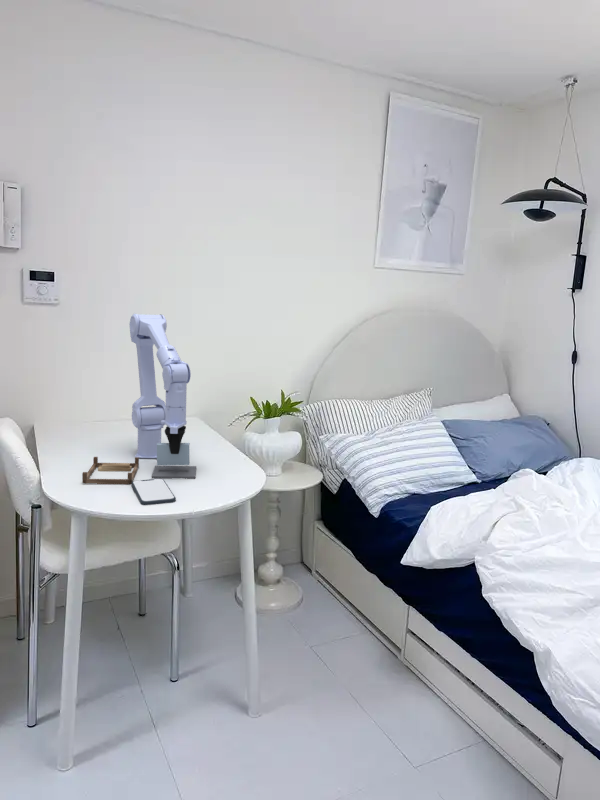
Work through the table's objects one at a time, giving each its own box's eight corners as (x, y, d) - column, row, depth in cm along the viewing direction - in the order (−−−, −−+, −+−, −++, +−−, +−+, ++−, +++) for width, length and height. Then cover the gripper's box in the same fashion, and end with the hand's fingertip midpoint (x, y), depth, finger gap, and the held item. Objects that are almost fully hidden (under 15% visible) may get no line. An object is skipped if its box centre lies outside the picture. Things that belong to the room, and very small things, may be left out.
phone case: (177, 504, 147) (163, 483, 161) (177, 498, 147) (163, 477, 161) (141, 508, 143) (130, 486, 157) (141, 502, 143) (130, 480, 157)
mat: (155, 467, 173) (155, 465, 173) (196, 468, 175) (196, 466, 175) (151, 478, 164) (151, 476, 163) (195, 478, 165) (195, 476, 165)
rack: (94, 466, 171) (94, 456, 170) (138, 467, 173) (138, 457, 172) (82, 484, 156) (82, 473, 155) (131, 484, 158) (131, 473, 157)
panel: (157, 463, 169) (157, 443, 168) (189, 462, 170) (189, 442, 169) (157, 465, 167) (156, 444, 166) (189, 464, 168) (189, 444, 167)
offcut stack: (99, 468, 170) (99, 462, 170) (131, 468, 171) (131, 463, 171) (97, 471, 167) (97, 465, 167) (130, 471, 168) (130, 466, 168)
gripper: (163, 400, 172) (162, 445, 175) (158, 410, 158) (158, 459, 161) (188, 401, 173) (187, 446, 176) (185, 411, 159) (184, 459, 162)
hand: (175, 452), depth 168 cm, fingers closed on panel, 2 cm apart
